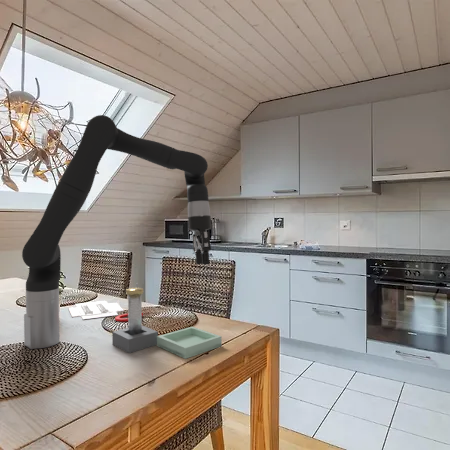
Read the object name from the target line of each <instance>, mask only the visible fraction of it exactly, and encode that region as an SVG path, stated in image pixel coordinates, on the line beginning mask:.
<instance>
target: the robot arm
mask: <svg viewBox="0 0 450 450" xmlns="http://www.w3.org/2000/svg"><path fill="white" fill-rule="evenodd" d="M107 150H110V151H115V152H120V153H124V154H127V155H132V156H134V157H137V158H140V159H142V160H145V161H147V162H149V163H152V164H155V165H157V166H161V167H163V168H166V169H169V170H179V171H183V172H184V174H183V175H184V179H185V185H186V190H187V191H186V196H187V199H186V200H187V221H188V230H189V231H190V232H191V231H192V232H193V231H194V234H192V247H193V249H192V251H193V253H194V254H195V264H196V265H203V266H205V265H207V266H208V265H209V264H210V254H209V253H210V251H211V250H212V248H211V235H210V234H211V233H210V231H208V230H211V229H212V221H211V220H212V218H211V207H210V200H209V192H208V187H207V185H206V182H205V181H206V179H205V173H206V172H207V171H208V166H209V165H208V161H207V160H206V158H205V157H203V156H202V155H201V154H198V153H195V152H190V151H185V150H179V149H176V148H175V147H173V146H169V145H167V144H164V143H161V142H158V141H155V140H149V139H146V138H142V137H138V136H134V135H132V134H129V133H127V132H125V131H123V130H121V129H119V128H118V127H117V125H116V123H115V121H114V120H113V119H112V118H111V117H109V116H107V115H103V114H98V115H94V116H93V117H92V118H91V119H89V120H88V122H87V124H86V125H85V128H84V131H83V134H82V136H81V140H80V141H79V145H78V146H77V149H76V151H75V154H74V155H73V157H72V158H71V159H70V162H69V163H68V165H67V166H66V168H65V170H64V172H63V174H62V176H61V177H60V179H59V181H58V183H57V185H56V187H55V189H54V190H53V193H52V196H51V198H50V199H49V202H48V204H47V206H46V208H45V211H44V212H43V214H42V218H41V219H40V221H39V223H38V225H37V226H36V228H35V229H34V231H33V233H32V234H31V235H30V237H29V238H28V240H27V241H26V243H25V244H24V246H23V248H22V251H21V254H22V255H21V257H22V260H23V262H24V264H25V265H26V266H27V267H28V276H27V280H26V281H25V311H26V312H25V313H24V314H23V324H24V325H23V329H24V330H23V332H24V335H23V337H24V338H23V340H24V346H26V347H27V348H28V349H29V350H33V349H35V350H36V349H43V348H49V347H53V346H55V345H57V344H59V343H60V336H61V335H60V280H61V265H62V264H61V261H62V258H61V257H62V256H61V255H62V254H61V248H60V245H59V243H60V241H61V238H62V236H63V234H64V233H65V231H66V229H67V228H68V227H69V225H70V224H71V222H72V221H73V220H74V219H75V218H76V216H77V214H79V212H80V211H81V209H82V207H83V206H84V204H85V202H86V199H87V198H88V196H89V194H90V192H91V190H92V187H93V184H94V181H95V177H96V175H97V171H98V167H99V164H100V162H101V160H102V158H103V156H104V154H105V153H106V151H107Z"/></svg>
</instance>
